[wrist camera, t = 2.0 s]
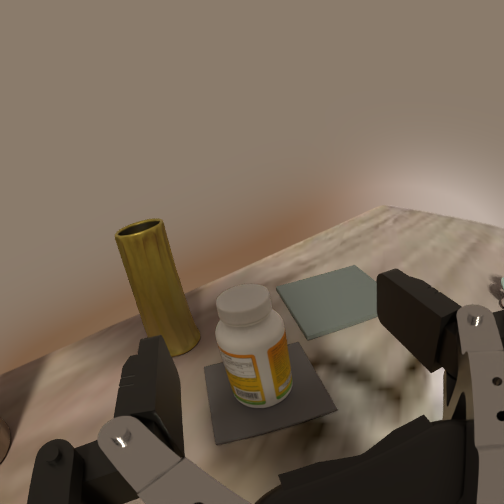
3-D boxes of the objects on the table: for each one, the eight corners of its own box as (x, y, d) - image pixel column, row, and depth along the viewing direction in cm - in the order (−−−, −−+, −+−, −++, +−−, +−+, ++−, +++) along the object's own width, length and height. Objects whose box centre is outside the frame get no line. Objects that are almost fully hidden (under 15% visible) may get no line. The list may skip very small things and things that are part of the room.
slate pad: (307, 340, 32) (307, 336, 32) (276, 290, 43) (276, 286, 43) (401, 307, 33) (402, 302, 33) (354, 268, 45) (354, 264, 44)
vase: (170, 323, 40) (137, 218, 34) (210, 330, 37) (178, 214, 32) (142, 352, 34) (98, 239, 29) (183, 362, 32) (139, 237, 27)
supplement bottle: (281, 361, 29) (265, 272, 26) (302, 397, 25) (290, 302, 21) (227, 377, 28) (201, 290, 25) (241, 417, 24) (212, 325, 20)
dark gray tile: (216, 445, 21) (215, 443, 21) (204, 368, 31) (204, 366, 30) (337, 410, 23) (337, 408, 23) (298, 343, 32) (298, 341, 32)
